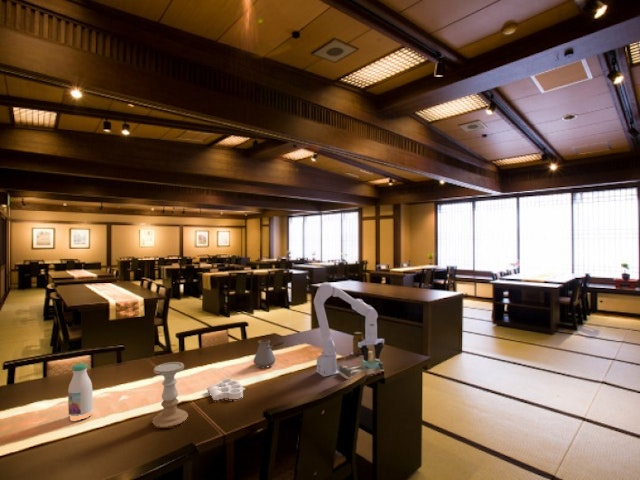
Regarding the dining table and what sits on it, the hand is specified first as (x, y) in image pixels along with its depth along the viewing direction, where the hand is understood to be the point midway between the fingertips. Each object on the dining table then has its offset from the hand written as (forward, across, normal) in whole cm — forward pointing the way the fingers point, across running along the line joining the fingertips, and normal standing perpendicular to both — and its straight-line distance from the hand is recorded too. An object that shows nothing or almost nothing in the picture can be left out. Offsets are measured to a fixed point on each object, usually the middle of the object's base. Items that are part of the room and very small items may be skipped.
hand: (371, 359), depth 180 cm
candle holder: (+6, -93, -4) cm, 93 cm away
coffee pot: (+6, -42, +30) cm, 52 cm away
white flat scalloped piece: (+6, -69, +10) cm, 70 cm away
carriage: (+3, -1, 0) cm, 3 cm away
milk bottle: (+6, -123, +16) cm, 124 cm away
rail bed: (+6, -6, 0) cm, 8 cm away
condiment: (+6, +9, +25) cm, 27 cm away
